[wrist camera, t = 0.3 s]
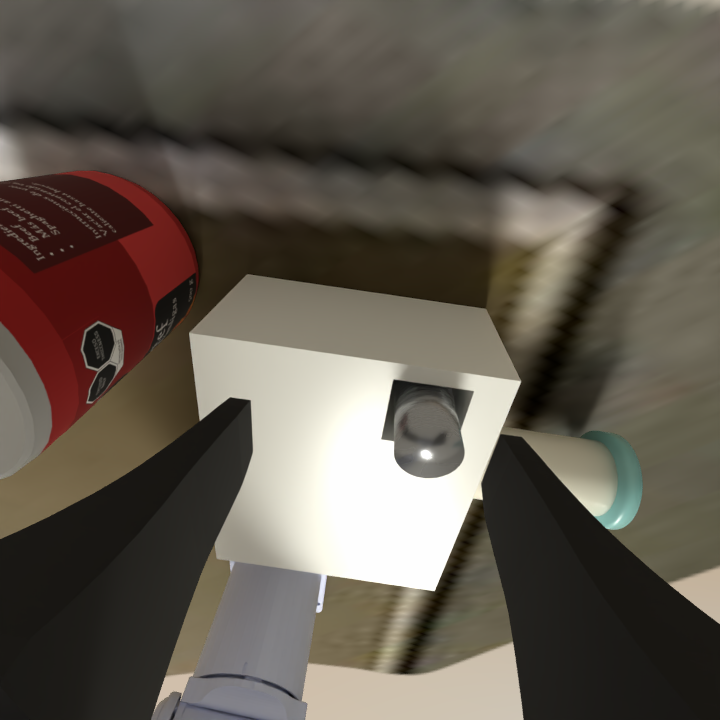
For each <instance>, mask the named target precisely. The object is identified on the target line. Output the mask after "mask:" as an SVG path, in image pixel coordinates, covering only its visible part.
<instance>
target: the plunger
mask: <svg viewBox="0 0 720 720" xmlns="http://www.w3.org/2000/svg"><path fill="white" fill-rule="evenodd" d="M464 456H465V449H464V444H463V439H462V435H461V430H460V425H459V421H458V416H457V411H456V406H455V402H454V397H453V392H452V388H450V387H443V386H436V385H430V384H423V383H416V382H409V381H402V380H395V384H394V458H395V461H396V463H397V464H398V466H399V467H400V468H401V469H402V470H403V471H405V472H406V473H408V474H410V475H413V476H416V477H420V478H438V477H442V476H445V475H448V474H450V473H452V472H453V471H455V470H456V469H457V468H458V467H459V466H460V465H461V463H462V461H463V459H464Z"/></svg>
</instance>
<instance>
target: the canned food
mask: <svg viewBox="0 0 720 720" xmlns="http://www.w3.org/2000/svg"><path fill="white" fill-rule="evenodd" d="M198 282H199V273H198V263H197V259H196V255H195V251H194V248H193V246H192V243H191V241H190V239H189V236H188V235H187V233H186V231H185V230H184V228H183V226H182V225H181V223H180V221H179V220H178V219H177V218H176V216H175V215H174V214H173V213H172V212H171V210H170V209H169V208H168V207H167V206H166V205H165V204H164V203H163V202H161V201H160V200H159V199H158V198H157V197H156V196H155V195H153V194H152V193H150V192H149V191H147V190H146V189H144V188H143V187H141V186H140V185H137V184H135V183H133V182H131V181H128V180H126V179H124V178H121V177H117V176H114V175H111V174H106V173H102V172H98V171H73V172H66V173H59V174H52V175H45V176H38V177H31V178H23V179H16V180H9V181H2V182H0V479H3V478H6V477H9V476H11V475H13V474H14V473H15V472H17V471H18V470H20V469H21V468H22V467H24V466H25V465H26V464H28V463H29V462H30V461H32V460H33V459H34V458H36V457H37V456H39V455H40V454H41V453H42V452H43V451H44V450H45V449H46V448H47V447H49V446H50V445H51V444H52V443H53V442H54V441H55V440H56V439H57V438H58V437H59V436H61V435H62V434H63V433H64V432H66V431H67V430H68V429H69V428H70V427H71V426H72V425H73V424H74V423H75V422H76V421H77V420H78V419H79V418H81V417H82V416H83V415H84V414H85V413H86V412H87V411H88V410H89V409H90V408H91V407H92V406H93V405H94V404H95V403H96V402H98V401H99V400H100V399H101V398H102V397H103V396H104V395H105V394H106V393H107V392H108V391H109V390H110V389H111V388H112V387H113V386H114V385H116V384H117V383H118V382H119V381H120V380H121V379H122V378H123V377H124V376H125V375H126V374H127V373H128V372H129V371H130V370H131V369H133V368H134V367H135V366H136V365H137V364H138V363H139V362H140V361H141V360H142V359H143V358H144V357H145V356H146V355H147V354H148V353H149V352H151V351H152V350H153V349H154V348H155V347H156V346H157V345H158V344H159V343H160V342H161V341H162V340H163V339H164V338H165V337H166V336H168V335H169V334H170V333H171V332H172V331H173V330H174V329H175V328H176V327H177V326H178V325H179V324H180V323H181V322H182V321H183V320H184V319H185V317H186V316H187V315H188V313H189V312H190V310H191V307H192V305H193V302H194V300H195V297H196V293H197V288H198Z"/></svg>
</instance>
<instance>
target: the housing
mask: <svg viewBox="0 0 720 720" xmlns="http://www.w3.org/2000/svg"><path fill="white" fill-rule="evenodd" d="M189 336H190V344H191V352H192V361H193V369H194V377H195V385H196V393H197V402H198V410H199V418H200V421H201V420H202V419H203V418H204V417H206V416H207V415H208V414H209V413H211V412H212V411H213V410H214V409H215V408H217V407H218V406H219V405H220V404H222V403H223V402H224V401H226V400H227V399H228V398H230V397H232V398H239V399H246V400H251V416H252V438H253V454H252V457H251V460H250V464H249V467H248V470H247V473H246V476H245V479H244V481H243V484H242V486H241V489H240V491H239V493H238V495H237V497H236V499H235V501H234V504H233V506H232V508H231V510H230V512H229V514H228V516H227V518H226V520H225V523H224V525H223V527H222V529H221V531H220V533H219V535H218V537H217V539H216V541H215V549H216V557H217V559H221V560H228V561H235V562H242V563H249V564H255V565H262V566H269V567H276V568H283V569H289V570H296V571H303V572H310V573H316V574H323V575H330V576H337V577H344V578H350V579H357V580H364V581H371V582H377V583H384V584H391V585H398V586H405V587H411V588H418V589H425V590H432V591H435V589H436V586H437V584H438V581H439V579H440V576H441V574H442V572H443V569H444V567H445V564H446V562H447V560H448V557H449V555H450V552H451V550H452V547H453V545H454V543H455V540H456V538H457V535H458V533H459V531H460V528H461V526H462V523H463V521H464V518H465V516H466V514H467V511H468V509H469V506H470V504H471V502H472V499H473V497H474V494H475V492H476V490H477V487H478V485H479V482H480V480H481V477H482V475H483V473H484V470H485V468H486V465H487V463H488V461H489V458H490V456H491V453H492V451H493V448H494V446H495V444H496V441H497V439H498V436H499V434H500V432H501V429H502V427H503V424H504V422H505V419H506V417H507V415H508V412H509V410H510V407H511V405H512V403H513V400H514V398H515V395H516V393H517V390H518V388H519V386H520V383H521V380H520V378H519V376H518V374H517V372H516V370H515V367H514V365H513V363H512V361H511V359H510V357H509V355H508V353H507V351H506V349H505V347H504V345H503V343H502V341H501V339H500V337H499V335H498V333H497V331H496V328H495V326H494V324H493V322H492V320H491V318H490V316H489V314H488V312H487V310H486V309H484V308H477V307H470V306H463V305H456V304H449V303H443V302H436V301H429V300H422V299H415V298H408V297H401V296H394V295H387V294H381V293H374V292H367V291H360V290H353V289H346V288H339V287H332V286H325V285H319V284H312V283H305V282H298V281H291V280H284V279H277V278H270V277H263V276H257V275H250V274H247V275H246V276H245V277H244V278H243V279H242V280H241V281H240V282H239V283H238V284H237V285H236V286H235V287H234V288H233V289H232V290H231V291H230V292H229V293H228V294H227V295H226V296H225V297H224V298H223V299H222V300H221V301H220V302H219V303H218V304H217V305H216V306H215V307H214V308H213V309H212V310H211V311H210V312H209V313H208V314H207V315H206V316H205V317H204V318H203V319H202V320H201V321H200V322H199V323H198V324H197V325H196V326H195V327H194V329H193V330H192V331H191V332H190V333H189ZM395 380H402V381H409V382H416V383H423V384H430V385H436V386H443V387H450V388H452V392H453V397H454V402H455V406H456V411H457V416H458V421H459V425H460V430H461V435H462V439H463V444H464V449H465V456H464V459H463V461H462V463H461V465H460V466H459V467H458V468H457V469H456V470H455V471H453V472H452V473H450V474H448V475H445V476H442V477H438V478H420V477H416V476H413V475H410V474H408V473H406V472H405V471H403V470H402V469H401V468H400V467H399V466H398V464H397V463H396V461H395V458H394V384H395Z"/></svg>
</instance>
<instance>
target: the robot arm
mask: <svg viewBox="0 0 720 720" xmlns="http://www.w3.org/2000/svg"><path fill="white" fill-rule="evenodd" d="M252 454H253V438H252V416H251V400H246V399H239V398H232V397H230V398H228V399H227V400H226V401H224V402H223V403H222V404H220V405H219V406H218V407H217V408H215V409H214V410H213V411H212V412H211V413H209V414H208V415H207V416H206V417H204V418H203V419H202V420H201V421H199V422H198V423H197V424H196V425H194V426H193V427H192V428H191V429H189V430H188V431H187V432H185V433H184V434H183V435H181V436H180V437H179V438H177V439H176V440H175V441H174V442H172V443H171V444H170V445H168V446H167V447H165V448H164V449H163V450H161V451H160V452H158V453H157V454H155V455H154V456H153V457H151V458H150V459H148V460H147V461H145V462H144V463H143V464H141V465H140V466H138V467H137V468H135V469H133V470H132V471H130V472H129V473H127V474H126V475H124V476H123V477H121V478H119V479H118V480H116V481H114V482H112V483H111V484H109V485H107V486H106V487H104V488H102V489H101V490H99V491H97V492H95V493H93V494H92V495H90V496H88V497H86V498H84V499H82V500H80V501H78V502H76V503H74V504H73V505H71V506H69V507H67V508H65V509H63V510H61V511H59V512H57V513H55V514H53V515H51V516H50V517H48V518H45V519H43V520H41V521H39V522H37V523H35V524H33V525H31V526H29V527H26V528H24V529H22V530H20V531H18V532H16V533H13V534H11V535H9V536H7V537H4V538H2V539H0V720H305V717H306V710H307V703H306V702H302V695H303V688H304V682H305V677H306V671H307V664H308V658H309V652H310V646H311V640H312V634H313V628H314V621H315V615H316V612H321V611H322V607H323V600H324V593H325V586H326V579H327V575H323V574H316V573H310V572H303V571H296V570H289V569H283V568H276V567H269V566H262V565H255V564H249V563H242V562H235V561H230V570H231V574H230V576H229V579H228V582H227V585H226V587H225V590H224V593H223V595H222V598H221V601H220V604H219V606H218V609H217V612H216V614H215V617H214V620H213V623H212V625H211V628H210V631H209V634H208V636H207V639H206V642H205V644H204V647H203V650H202V653H201V655H200V658H199V661H198V664H197V666H196V669H195V672H194V674H193V677H192V676H191V677H190V678H189V680H188V683H187V685H186V688H185V691H184V693H183V696H182V699H181V701H180V698H181V693H179V692H172V693H171V694H170V695H169V697H167V698H165V699H164V700H163V701H161V702H160V703H159V704H158V706H157V708H156V710H155V712H154V709H155V706H156V702H157V699H158V696H159V693H160V690H161V687H162V684H163V681H164V678H165V675H166V672H167V669H168V666H169V663H170V660H171V657H172V654H173V651H174V648H175V645H176V642H177V639H178V636H179V634H180V631H181V628H182V625H183V622H184V619H185V616H186V613H187V611H188V608H189V605H190V602H191V600H192V597H193V594H194V591H195V589H196V586H197V583H198V581H199V578H200V575H201V573H202V570H203V568H204V566H205V563H206V561H207V559H208V556H209V554H210V552H211V550H212V548H213V546H214V544H215V541H216V539H217V537H218V535H219V533H220V531H221V529H222V527H223V525H224V523H225V520H226V518H227V516H228V514H229V512H230V510H231V508H232V506H233V504H234V501H235V499H236V497H237V495H238V493H239V491H240V489H241V486H242V484H243V481H244V479H245V476H246V473H247V470H248V467H249V464H250V460H251V457H252ZM481 488H482V498H483V506H484V513H485V519H486V524H487V528H488V532H489V536H490V540H491V544H492V548H493V552H494V556H495V560H496V564H497V567H498V571H499V575H500V579H501V583H502V587H503V591H504V595H505V599H506V604H507V608H508V613H509V618H510V625H511V631H512V637H513V644H514V650H515V656H516V664H517V670H518V678H519V686H520V693H521V701H522V709H523V718H524V720H720V624H719V623H717V622H716V621H715V620H713V619H712V618H711V617H709V616H708V615H707V614H705V613H704V612H703V611H701V610H700V609H699V608H697V607H696V606H695V605H694V604H693V603H691V602H690V601H689V600H688V599H686V598H685V597H684V596H683V595H681V594H680V593H679V592H678V591H676V590H675V589H674V588H673V587H671V586H670V585H669V584H668V583H666V582H665V581H664V580H663V579H662V578H660V577H659V576H658V575H657V574H656V573H654V572H653V571H652V570H651V569H650V568H649V567H648V566H646V565H645V564H644V563H643V562H642V561H641V560H640V559H639V558H637V557H636V556H635V555H634V554H633V553H632V552H631V551H630V550H628V549H627V548H626V547H625V546H624V545H623V544H622V543H621V542H620V541H619V540H618V539H617V538H615V537H614V536H613V535H612V534H611V533H610V532H609V531H608V530H607V529H606V528H605V527H604V526H603V525H602V524H601V523H600V522H599V521H598V520H597V519H596V518H595V517H594V516H593V515H592V514H591V513H590V512H589V511H588V510H587V509H586V508H585V506H584V505H583V504H582V503H581V502H580V501H579V500H578V499H577V498H576V497H575V496H574V495H573V494H572V493H571V491H570V490H569V489H568V488H567V487H566V486H565V485H564V484H563V483H562V482H561V480H560V479H559V478H558V477H557V476H556V475H555V474H554V473H553V471H552V470H551V469H550V468H549V467H548V466H547V465H546V463H545V462H544V461H543V460H542V459H541V458H540V457H539V455H538V454H537V453H536V452H535V451H534V450H533V449H532V447H531V446H530V445H529V444H528V443H527V442H526V441H525V440H524V439H523V438H522V437H520V436H512V435H505V434H500V436H499V439H498V441H497V444H496V446H495V449H494V451H493V454H492V457H491V459H490V462H489V464H488V467H487V469H486V472H485V474H484V477H483V479H482V482H481ZM153 712H154V714H153ZM152 715H153V716H152Z"/></svg>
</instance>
